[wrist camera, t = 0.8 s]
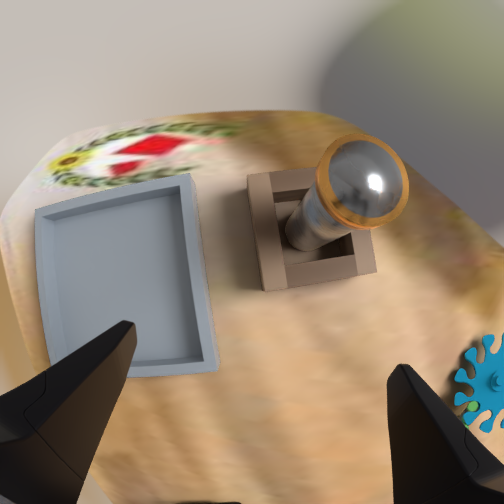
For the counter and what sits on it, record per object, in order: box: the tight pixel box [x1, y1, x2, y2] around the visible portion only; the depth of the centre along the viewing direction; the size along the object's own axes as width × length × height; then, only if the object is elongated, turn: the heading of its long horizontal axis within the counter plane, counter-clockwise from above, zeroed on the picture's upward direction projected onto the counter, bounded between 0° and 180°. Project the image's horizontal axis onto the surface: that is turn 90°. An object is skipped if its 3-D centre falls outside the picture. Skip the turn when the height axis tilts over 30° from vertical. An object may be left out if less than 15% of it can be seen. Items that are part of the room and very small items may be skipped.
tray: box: [35, 173, 220, 378], centre depth 21 cm, size 14×14×2 cm
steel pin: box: [285, 134, 409, 251], centre depth 17 cm, size 4×4×12 cm
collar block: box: [247, 167, 377, 292], centre depth 22 cm, size 8×8×3 cm
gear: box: [454, 333, 504, 433], centre depth 20 cm, size 11×6×10 cm
